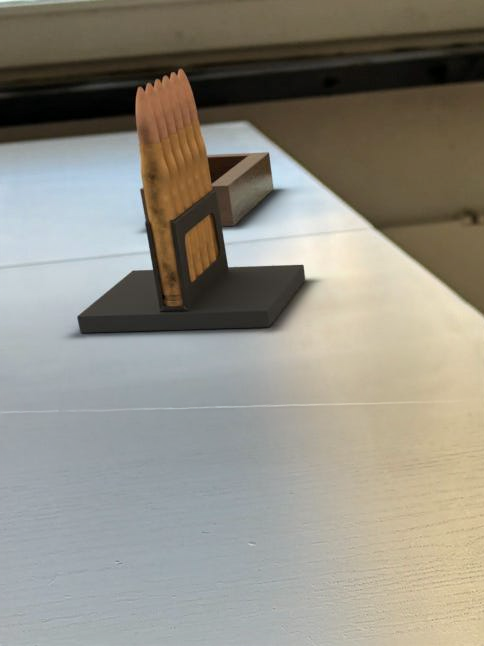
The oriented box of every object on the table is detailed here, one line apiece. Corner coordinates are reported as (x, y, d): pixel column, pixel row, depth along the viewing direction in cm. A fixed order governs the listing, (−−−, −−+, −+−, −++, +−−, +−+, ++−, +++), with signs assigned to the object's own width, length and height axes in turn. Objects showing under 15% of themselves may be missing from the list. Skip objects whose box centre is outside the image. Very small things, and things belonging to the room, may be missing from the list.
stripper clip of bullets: (202, 271, 92) (170, 67, 85) (229, 270, 91) (199, 66, 84) (159, 312, 83) (119, 89, 76) (188, 311, 83) (151, 88, 76)
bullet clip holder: (147, 229, 109) (139, 189, 107) (195, 192, 122) (190, 155, 120) (234, 226, 109) (228, 185, 107) (273, 189, 121) (269, 152, 120)
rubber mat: (80, 333, 84) (76, 316, 83) (135, 285, 93) (132, 270, 93) (269, 327, 83) (267, 310, 82) (305, 279, 92) (303, 264, 92)
